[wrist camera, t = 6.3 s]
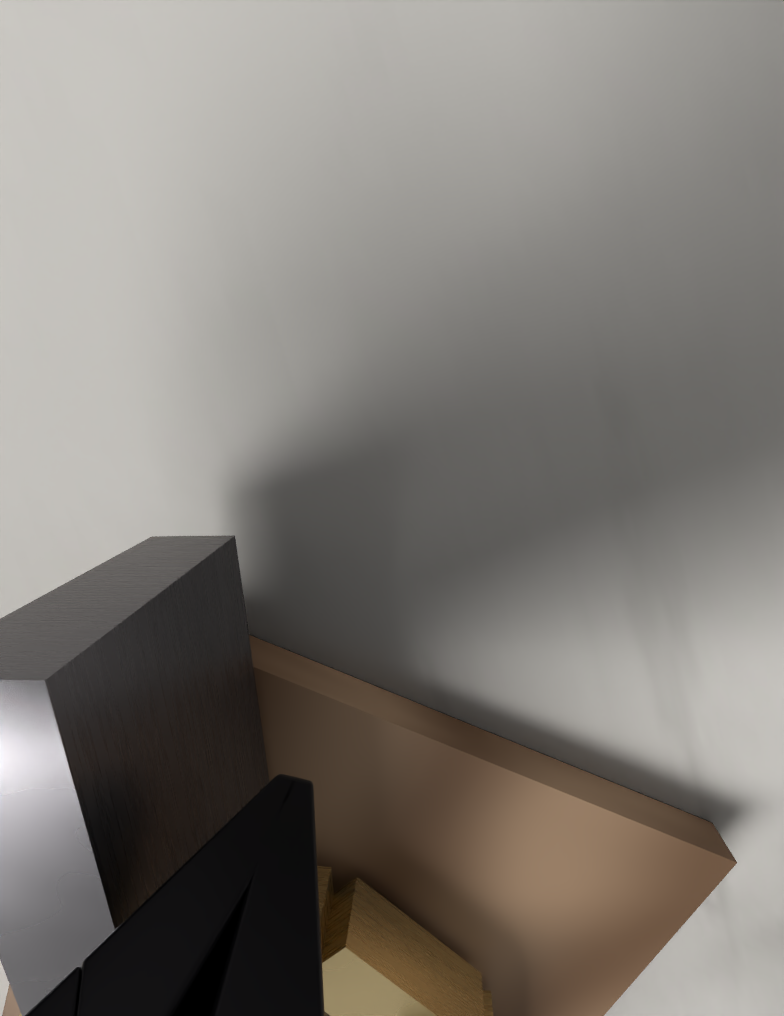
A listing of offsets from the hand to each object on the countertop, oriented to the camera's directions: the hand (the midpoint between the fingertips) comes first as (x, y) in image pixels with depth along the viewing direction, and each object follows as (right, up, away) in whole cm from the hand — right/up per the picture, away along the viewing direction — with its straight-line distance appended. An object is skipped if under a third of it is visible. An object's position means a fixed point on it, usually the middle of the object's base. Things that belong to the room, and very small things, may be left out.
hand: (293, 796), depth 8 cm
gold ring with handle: (-2, -6, +4) cm, 8 cm away
